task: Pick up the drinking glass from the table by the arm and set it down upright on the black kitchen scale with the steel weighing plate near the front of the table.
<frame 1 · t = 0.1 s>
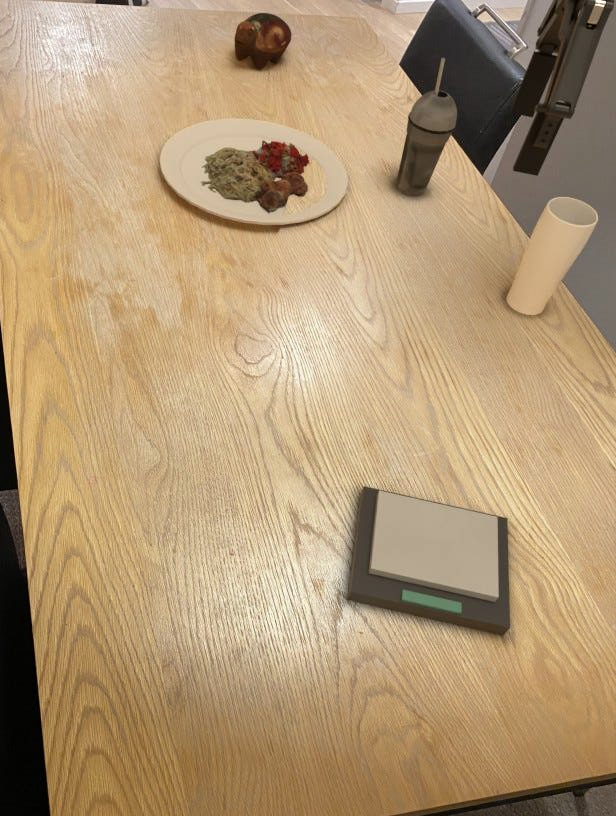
hand: (523, 141, 88), 24 cm above the table, tool pointing down, fingers open, 13 cm apart
plated food: (252, 179, 122), on the table
scale: (425, 565, 81), on the table
drinking glass: (521, 308, 109), on the table
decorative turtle: (259, 62, 146), on the table
beverage cup: (408, 194, 124), on the table
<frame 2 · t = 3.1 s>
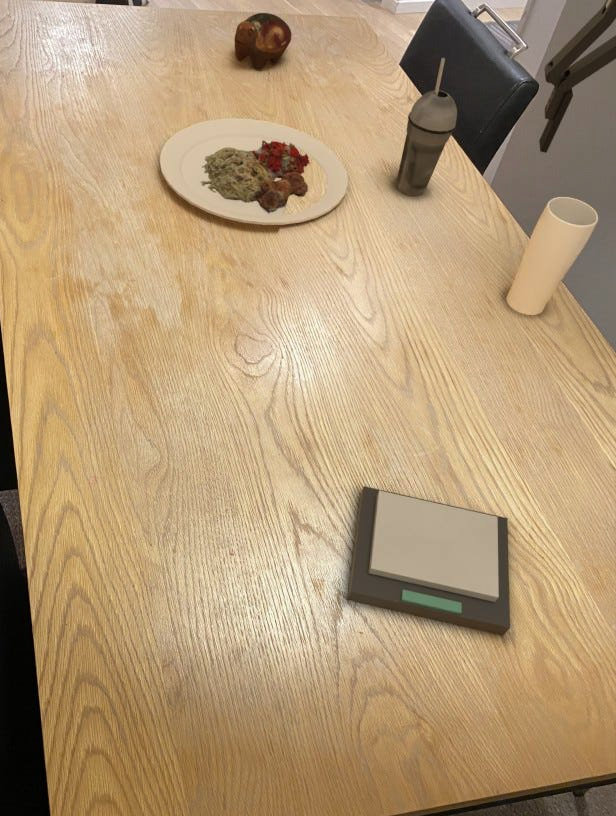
hand: (598, 158, 91), 22 cm above the table, tool pointing down, fingers open, 13 cm apart
nothing on the table moved.
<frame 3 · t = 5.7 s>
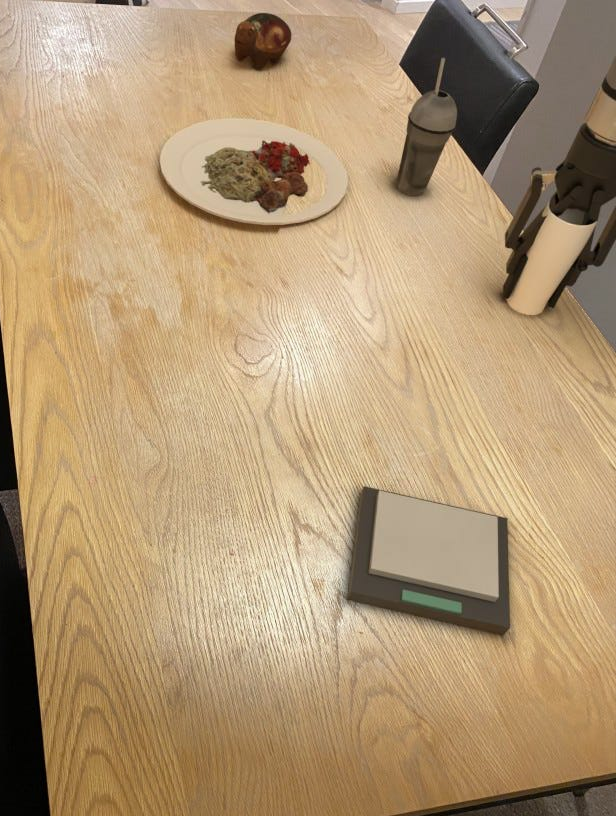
hand: (528, 296, 107), 2 cm above the table, tool pointing down, fingers closed on drinking glass, 6 cm apart
drinking glass: (521, 308, 109), on the table, touching gripper
everything else where it was.
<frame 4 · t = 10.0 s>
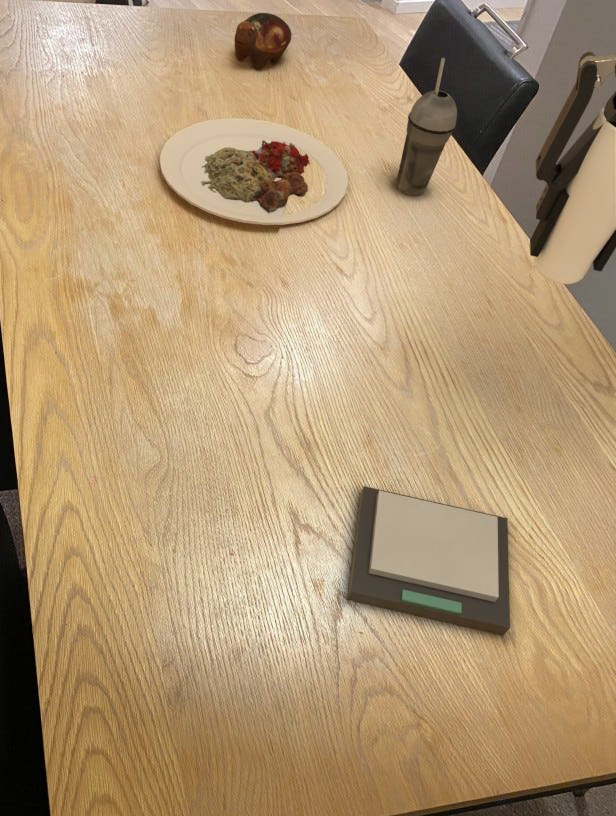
hand: (565, 255, 76), 23 cm above the table, tool pointing down, fingers closed on drinking glass, 6 cm apart
drinking glass: (555, 272, 78), point 21 cm above the table, touching gripper
everything else where it was.
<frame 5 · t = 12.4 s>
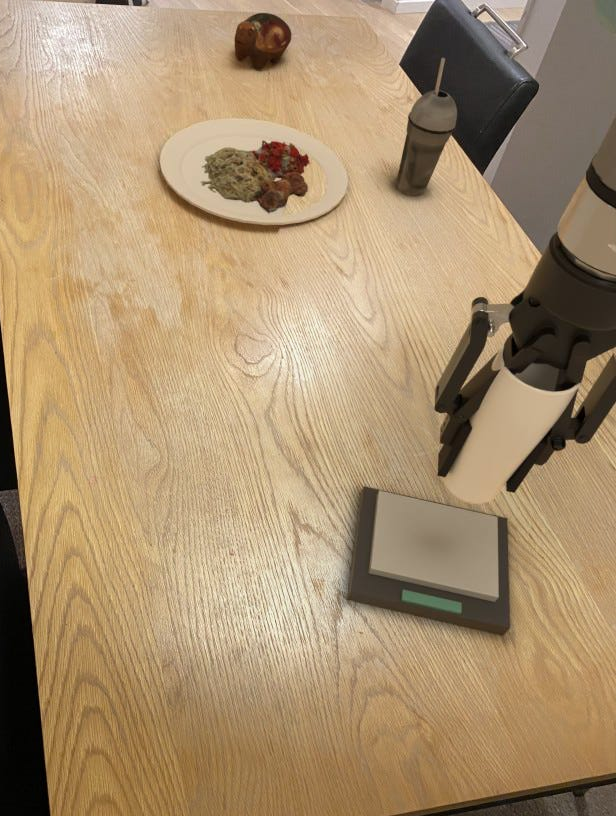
hand: (476, 473, 70), 15 cm above the table, tool pointing down, fingers closed on drinking glass, 6 cm apart
drinking glass: (468, 485, 71), point 13 cm above the table, touching gripper
everything else where it was.
when the fingers open (5 cm above the table, at t = 14.4 s): drinking glass stays where it is, resting on scale.
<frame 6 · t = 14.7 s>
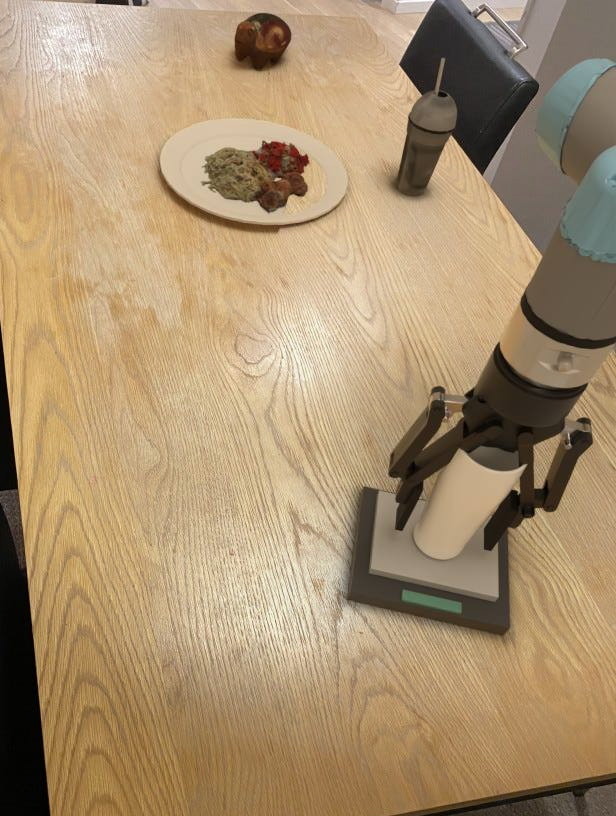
hand: (443, 529, 77), 6 cm above the table, tool pointing down, fingers open, 8 cm apart
drinking glass: (435, 542, 79), point 3 cm above the table, touching scale
everything else where it was.
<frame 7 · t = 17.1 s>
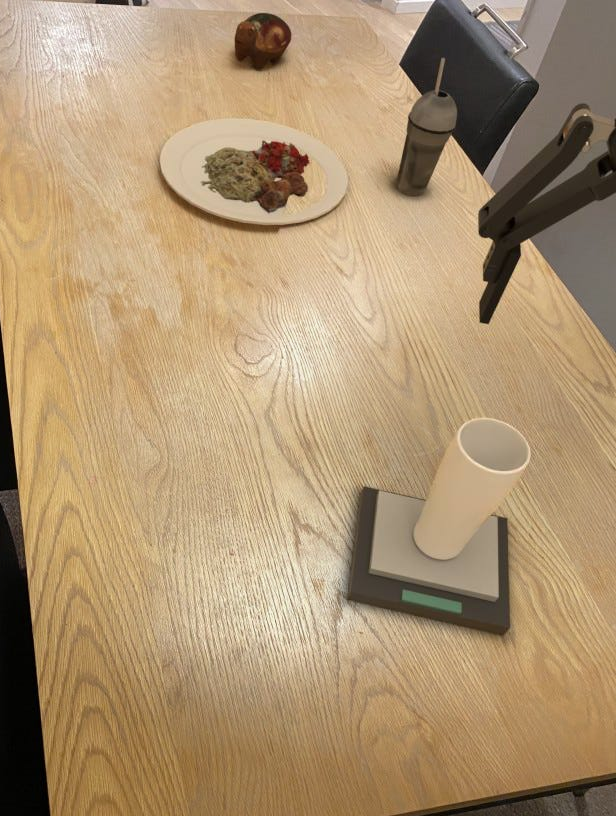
hand: (564, 329, 63), 27 cm above the table, tool pointing down, fingers open, 13 cm apart
nothing on the table moved.
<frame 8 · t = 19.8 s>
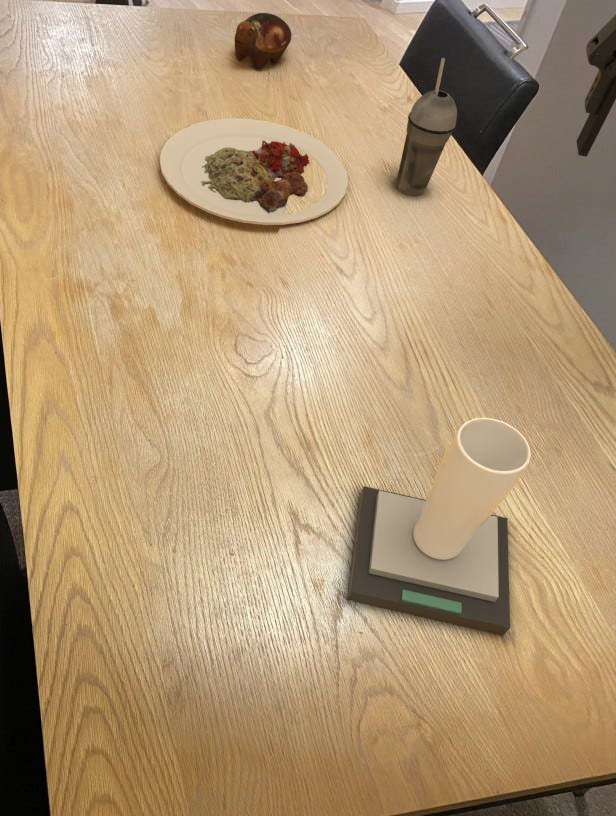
nothing on the table moved.
at the end: drinking glass inside the target area on the scale (0.2 cm from its centre), point 3.3 cm above the scale's base; drinking glass tilted 0°; the gripper is holding nothing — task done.
